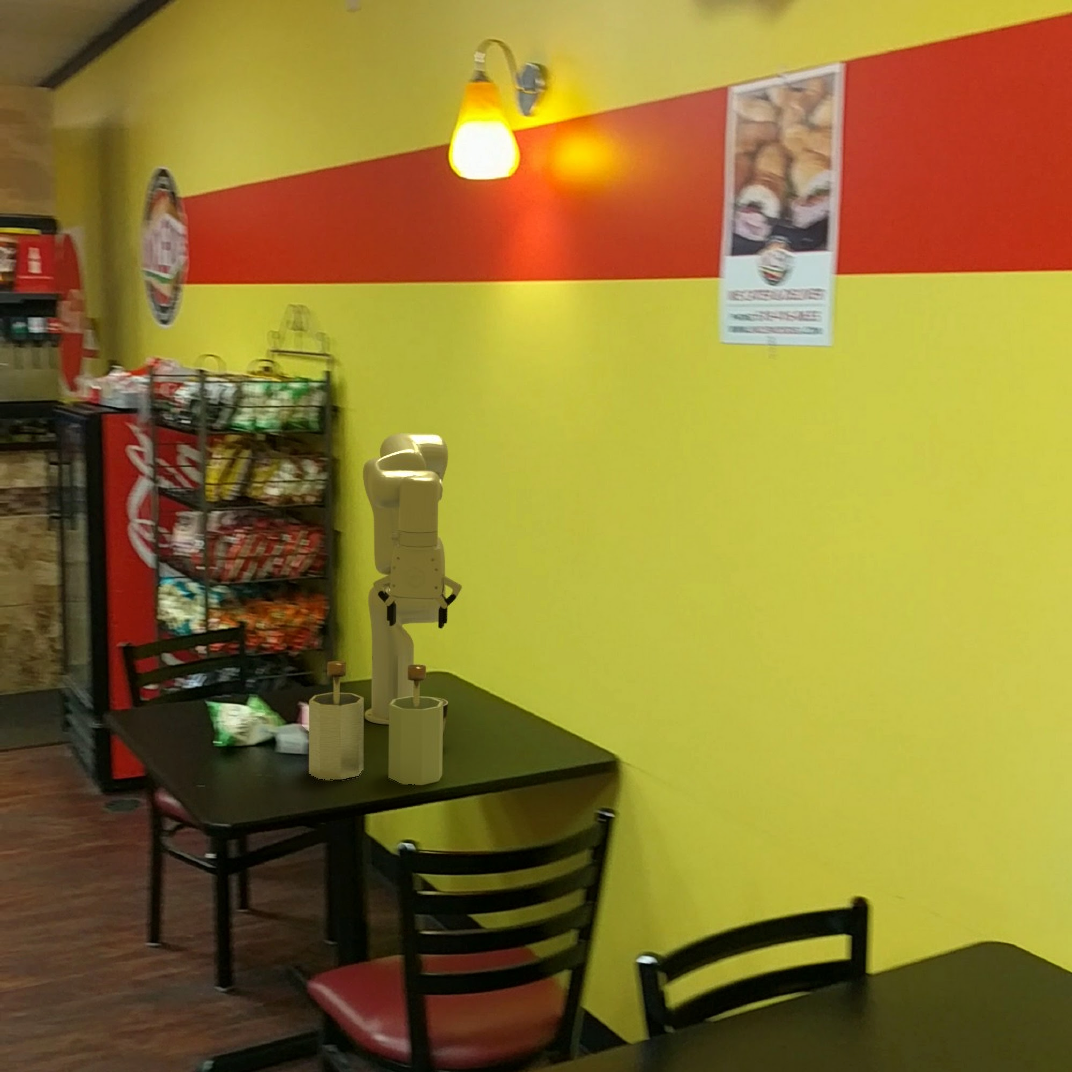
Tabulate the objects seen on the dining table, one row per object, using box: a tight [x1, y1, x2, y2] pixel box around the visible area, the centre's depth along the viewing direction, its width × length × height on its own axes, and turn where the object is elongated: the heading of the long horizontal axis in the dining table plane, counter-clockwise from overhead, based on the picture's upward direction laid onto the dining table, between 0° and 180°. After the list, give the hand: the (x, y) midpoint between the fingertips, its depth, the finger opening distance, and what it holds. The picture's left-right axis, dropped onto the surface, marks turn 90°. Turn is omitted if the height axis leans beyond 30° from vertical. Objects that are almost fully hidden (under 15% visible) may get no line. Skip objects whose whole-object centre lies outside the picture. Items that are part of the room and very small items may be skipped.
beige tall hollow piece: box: [308, 691, 365, 781], centre depth 262 cm, size 10×10×15 cm
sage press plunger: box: [407, 664, 427, 709], centre depth 259 cm, size 8×8×17 cm
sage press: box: [388, 696, 444, 786], centre depth 260 cm, size 10×10×15 cm
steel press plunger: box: [326, 660, 347, 705], centre depth 261 cm, size 8×8×17 cm
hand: (416, 625), depth 257 cm, fingers open, 9 cm apart
